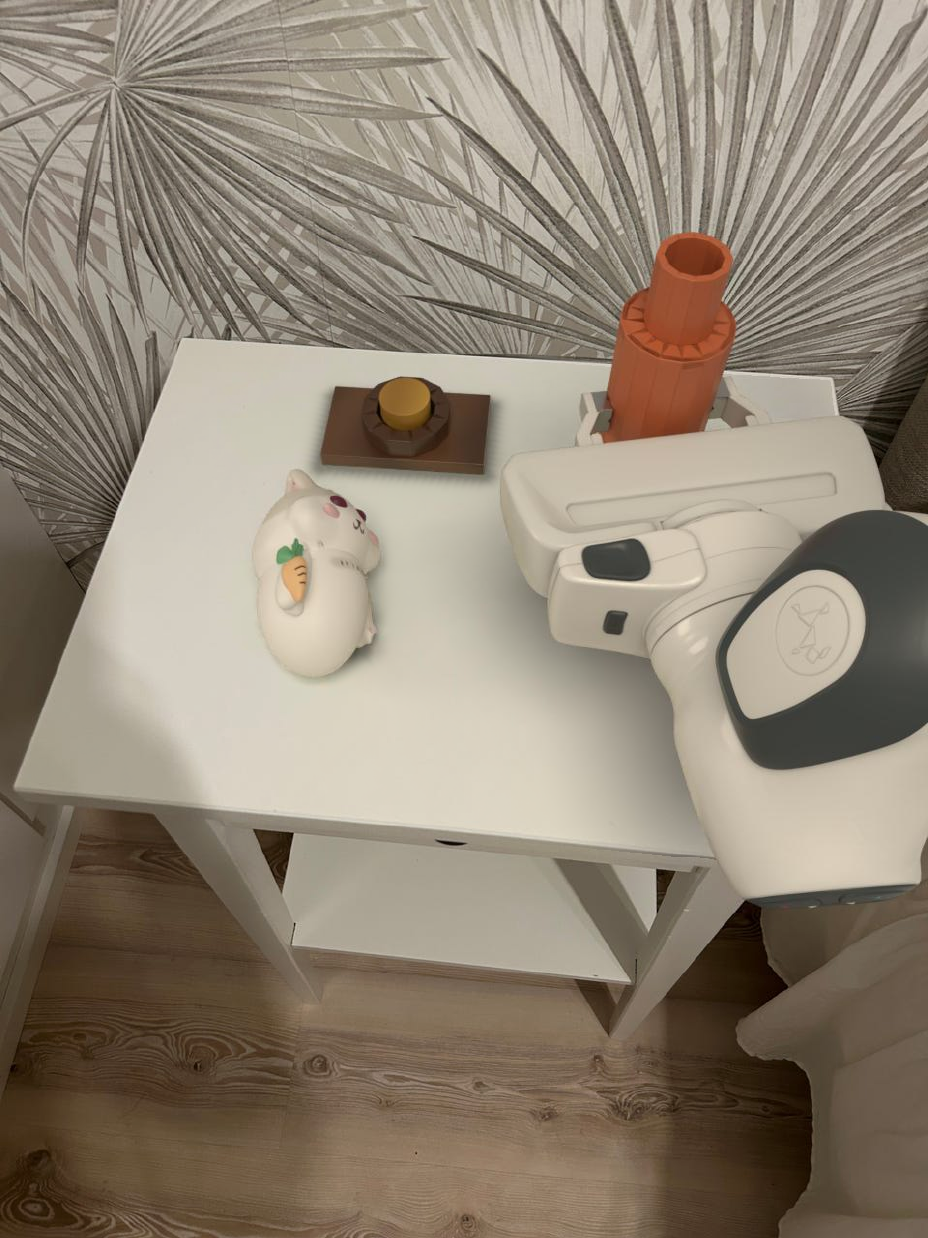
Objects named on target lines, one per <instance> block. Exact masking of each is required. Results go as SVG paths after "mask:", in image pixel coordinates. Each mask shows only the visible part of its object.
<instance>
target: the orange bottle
mask: <svg viewBox="0 0 928 1238" xmlns="http://www.w3.org/2000/svg"><path fill="white" fill-rule="evenodd" d="M733 262H734V256H733V255H732V252H731V250H730V248H729V246H728V245H727V244H726V243H723V242H722V241H721V240H720V239H718V238H716V237H715V236H713V235H709V234H704V233H701V232H696V231H695V232H694V231H691V232H690V231H689V232H681V233H674V234H673V235H671V236H669V237H667V238H666V239H664V240H662V241H661V243H660V245H659V247H658V249H657V251H656V254H655V260H654V263H653V268H652V273H651V278H650V282H649V286H647V287H645V288H643V289H641V290H638V291H636V292H635V293H633V294H632V295H631V296H630V298H628V300H627V301H626V302H625V303H624V304H623V305H622V309H621V313H620V318H619V321H618V328H617V333H616V339H615V345H614V348H613V349H614V350H613V355H612V360H611V365H610V372H609V377H608V381H607V382H608V383H607V388H606V391H607V393H608V400H609V401H610V402H611V405H612V407H613V413H612V418H611V419H610V423H611V424H610V429H609V431H605V432H599V434H601V436H602V440H603V443H610V442H619V441H627V440H635V439H644V438H652V437H661V436H669V435H677V434H686V433H694V432H703V431H706V428H707V425H708V422H709V419H708V418H709V415H710V412H711V409H712V406H713V403H714V400H715V397H716V394H717V391H718V388H719V385H720V382H721V379H722V377H724V373H725V369H726V368H727V363H728V360H729V358H730V355H731V352H732V348H733V346H734V343H735V340H736V334H737V325H738V323H737V320H736V318H735V316H734V314H733V312H732V309H731V308H730V306H729V305H728V304H726V303H725V302H724V301H723V296H724V293H725V290H726V286H727V282H728V280H729V277H730V273H731V270H732V266H733Z"/></svg>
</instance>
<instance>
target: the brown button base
mask: <svg viewBox="0 0 928 1238" xmlns="http://www.w3.org/2000/svg"><path fill="white" fill-rule="evenodd" d="M398 378H413V379H416V380H419V381H421V382H422V383H424V384H425V385H426V386H427V388H428V389H429V392H430V400H431V415H430V418H429V419H428V421H427V422H426V423H425V424H424V425H423V426H421V427H418V428H416V429H413V430H409V431H406V430H396V429H393V428H391V427H389V426H388V425H387V424H386V423H385V422H384V421H383V419H382V417H381V412H380V404H379V393H380V391H381V389H382V388H383V387H384V386H385V385H386V384H387V383H388V382H390V381H392V380H395V379H398ZM491 400H492V396H491V395H490V394H482V393H481V394H480V393H463V392H444V390H443V388H441V386H440V385H437V384H435V383H434V382H431V381H429V380H427V379H426V378H424V377H418V376H397V377H393V378H391V379H388V380H385V381H382V382H380V383H377V385H375V386H374V387H361V386H359V387H358V386H340V385H335V386H334V389H333V394H332V398H331V403H330V408H329V412H328V416H327V421H326V426H325V431H324V435H323V440H322V443H321V449H320V454H319V456H320V460H321V464H322V465H323V466H325V465H326V466H341V467H342V466H343V467H357V468H373V469H377V468H378V469H389V470H407V471H423V472H439V473H454V474H455V473H456V474H470V475H471V474H472V475H484V474H485V465H486V457H487V456H486V455H487V444H488V436H489V424H490V415H491Z"/></svg>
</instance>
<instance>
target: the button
mask: <svg viewBox="0 0 928 1238" xmlns="http://www.w3.org/2000/svg"><path fill="white" fill-rule="evenodd" d="M379 404H380V412H381V417H382V419H383V421H384V422H385V423H386V424H387V425H388V426H389V427H391V428H393V429H396V430H406V431H409V430H413V429H416V428H418V427H421V426H423V425H424V424H425V423H426V422H427V421H428V419H429V418H430V415H431V400H430V392H429V389H428V388H427V386H426V385H425V384H424V383H422V382H421V381H419V380H416V379H413V378H398V379H395V380H392V381H390V382H388V383H387V384H386V385H385V386H384V387H383V388H382V389H381V391H380V393H379Z"/></svg>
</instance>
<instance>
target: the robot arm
mask: <svg viewBox="0 0 928 1238" xmlns="http://www.w3.org/2000/svg"><path fill="white" fill-rule="evenodd" d="M578 410H579V418H580V421H581V424H580V426H579V428H578V431H577V433H576V435H575V441H574V446H570V447H561V448H552V449H545V450H544V449H542V450H535V451H526V452H518V453H515V454H513V455H511V456H510V458H509V459H508V460H507V461H506V463H505V464H504V466H503V467H502V469H501V471H500V476H499V477H500V478H499V505H500V506H499V507H500V512H501V516H502V521H503V524H504V527H505V531H506V534H507V537H508V541H509V543H510V546H511V548H512V549H511V550H512V551H513V554H514V557H515V559H516V562H517V565H518V566H519V569H520V571H521V573H522V575H523V578H524V579H525V581H526V582H527V583H528V585H529V586H530V587H531V588H532V590H533V591H535V592H536V593H537V594H538V595H540V596H541V597H543V598H545V599H547V618H548V626H549V631H550V634H551V636H552V637H553V639H554V640H555V641H557V642H559V643H561V644H564V645H569V646H574V647H580V648H581V647H582V648H589V649H590V648H591V649H596V650H603V651H610V652H616V653H622V654H627V655H632V656H636V657H640V658H645V659H650V663H651V666H652V668H653V671H654V673H655V675H656V677H657V678H658V680H659V682H660V683H661V684H662V686H663V687H664V689H665V690H666V692H667V694H668V696H669V699H670V703H671V706H672V711H673V741H674V746H675V748H676V752H677V756H678V759H679V762H680V766H681V770H682V773H683V776H684V779H685V783H686V785H687V789H688V792H689V796H690V798H691V800H692V804H693V806H694V809H695V813H696V815H697V818H698V821H699V823H700V825H701V828H702V831H703V833H704V836H705V838H706V841H707V843H708V845H709V848H710V850H711V852H712V854H713V856H714V859H715V860H716V862H717V864H718V866H719V868H720V869H721V872H722V874H723V875H724V877H725V878H726V880H727V881H728V883H729V885H730V886H731V887H732V889H733V890H734V891H735V893H736V894H737V895H738V896H739V897H740V898H741V899H742V900H743V901H746V902H748V903H751V904H752V905H755V906H757V907H759V908H763V909H767V910H774V911H785V910H793V909H795V910H796V909H813V908H823V907H835V906H852V905H860V904H861V905H862V904H870V903H879V902H885V901H890V900H894V899H895V898H899V897H902V896H903V895H905V894H906V893H908V892H910V891H912V890H914V889H915V888H917V887H918V886H919V885H920V883H921V881H922V864H921V858H922V857H921V856H922V852H923V850H924V846H925V844H926V842H927V839H928V514H927V513H921V512H911V511H904V510H903V511H902V510H893V508H892V507H891V506H890V505H889V504H888V503H887V502H886V499H885V491H884V486H883V482H882V478H881V475H880V471H879V468H878V464H877V462H876V461H877V460H876V458H875V456H874V453H873V450H872V449H873V448H872V447H871V444H870V442H869V439H868V437H867V434H866V432H865V431H864V429H863V427H862V426H861V425H859V424H858V423H856V422H854V421H853V420H852V419H850V418H848V417H846V416H844V415H838V414H837V415H829V416H821V417H811V418H805V419H796V420H787V421H786V420H785V421H779V422H778V421H777V422H773V421H772V419H771V416H770V414H769V412H768V411H766V410H764V409H763V408H761V407H760V406H759V405H757V404H755V403H754V402H753V401H751V400H750V399H748V398H747V397H745V396H744V395H742V394H740V393H739V391H738V388H737V386H736V384H735V382H734V380H733V377H732V376H722V379H721V382H720V385H719V388H718V391H717V394H716V397H715V400H714V403H713V406H712V409H711V412H710V415H709V418H708V420H716V419H721V420H722V421H723V422H724V423H725V424H726V425H728V426H729V428H719V429H712V430H711V429H710V430H705V431H703V432H694V433H686V434H677V435H669V436H661V437H652V438H644V439H635V440H627V441H619V442H610V443H603V440H602V436H601V434H599V432H605V431H609V429H610V424H611V423H610V419H611V418H612V413H613V407H612V405H611V402H610V401H609V400H608V393H607V390H602V391H600V390H599V391H591V392H582V393H581V394H580V401H579V409H578Z"/></svg>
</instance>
